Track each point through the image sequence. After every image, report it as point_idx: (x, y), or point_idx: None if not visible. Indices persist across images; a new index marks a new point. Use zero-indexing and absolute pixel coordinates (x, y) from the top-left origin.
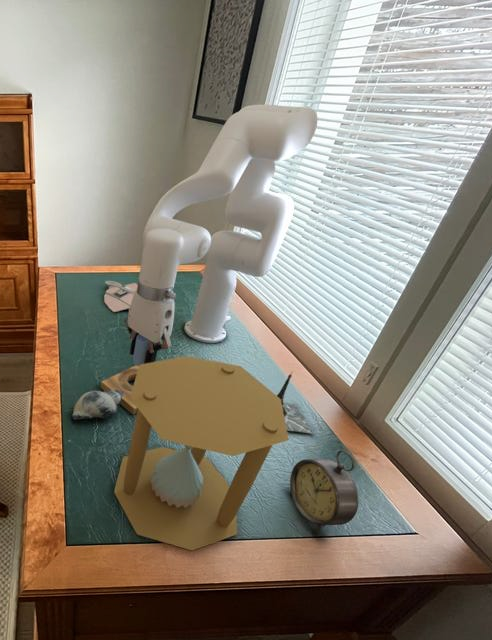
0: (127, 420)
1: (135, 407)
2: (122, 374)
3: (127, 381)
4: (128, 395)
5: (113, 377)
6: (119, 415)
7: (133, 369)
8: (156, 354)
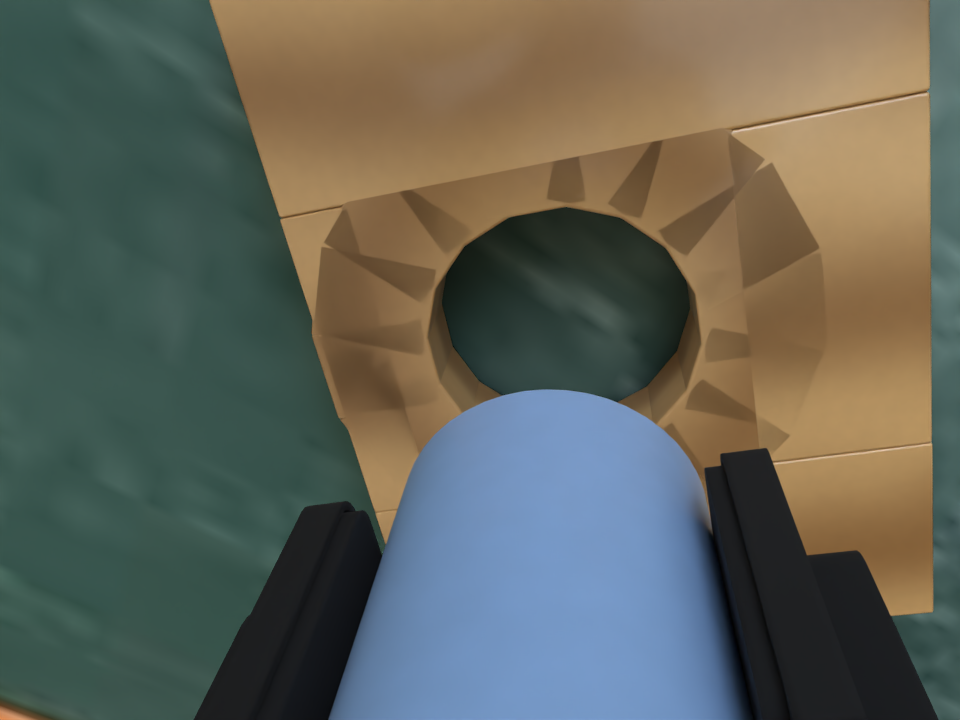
0: (926, 628)
1: (923, 597)
2: (390, 432)
3: (459, 364)
4: None
5: None
6: None
7: (341, 263)
8: (918, 686)
